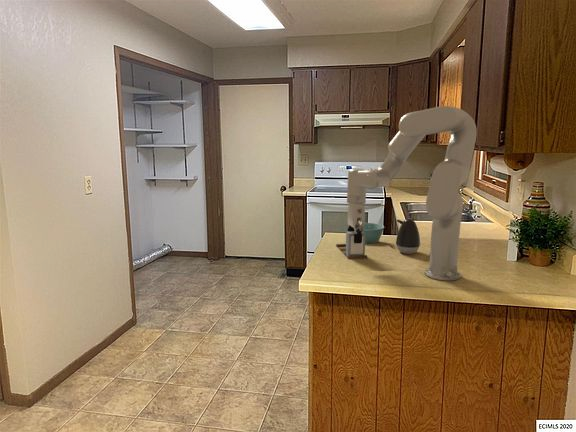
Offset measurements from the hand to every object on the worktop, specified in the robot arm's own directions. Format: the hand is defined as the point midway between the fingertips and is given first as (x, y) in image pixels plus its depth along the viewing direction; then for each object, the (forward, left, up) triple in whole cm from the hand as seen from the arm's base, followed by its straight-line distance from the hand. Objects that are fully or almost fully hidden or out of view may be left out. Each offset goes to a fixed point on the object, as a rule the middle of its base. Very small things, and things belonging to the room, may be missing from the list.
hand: (354, 240), depth 173 cm
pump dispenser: (+7, -26, -8) cm, 29 cm away
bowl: (+27, -14, -8) cm, 32 cm away
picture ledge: (+6, 0, -8) cm, 10 cm away
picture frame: (0, 0, -7) cm, 7 cm away
